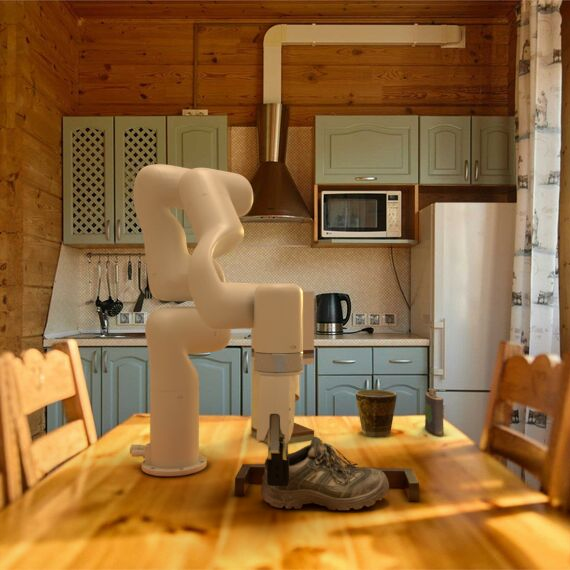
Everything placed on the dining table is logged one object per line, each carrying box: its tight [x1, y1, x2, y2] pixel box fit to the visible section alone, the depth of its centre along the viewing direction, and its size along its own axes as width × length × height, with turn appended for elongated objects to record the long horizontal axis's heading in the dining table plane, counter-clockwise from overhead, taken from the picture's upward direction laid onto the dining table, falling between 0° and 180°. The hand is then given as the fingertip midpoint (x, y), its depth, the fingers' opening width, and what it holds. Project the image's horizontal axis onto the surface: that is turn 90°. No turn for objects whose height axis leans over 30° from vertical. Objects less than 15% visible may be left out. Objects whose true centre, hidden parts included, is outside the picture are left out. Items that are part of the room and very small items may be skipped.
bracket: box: [234, 463, 420, 503], centre depth 94 cm, size 31×8×3 cm, turn 85°
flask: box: [424, 388, 445, 437], centre depth 135 cm, size 9×3×11 cm, turn 2°
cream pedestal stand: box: [250, 290, 315, 444], centre depth 130 cm, size 11×11×35 cm
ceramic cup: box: [355, 389, 398, 438], centre depth 132 cm, size 13×10×10 cm
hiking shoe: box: [260, 436, 390, 511], centre depth 89 cm, size 9×21×12 cm
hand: (278, 483), depth 82 cm, fingers closed
